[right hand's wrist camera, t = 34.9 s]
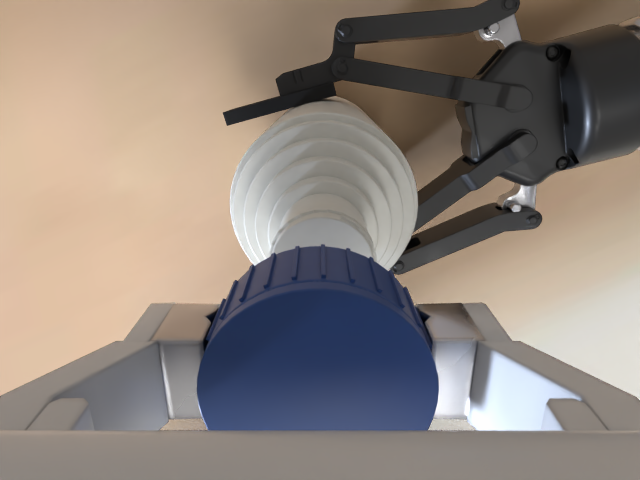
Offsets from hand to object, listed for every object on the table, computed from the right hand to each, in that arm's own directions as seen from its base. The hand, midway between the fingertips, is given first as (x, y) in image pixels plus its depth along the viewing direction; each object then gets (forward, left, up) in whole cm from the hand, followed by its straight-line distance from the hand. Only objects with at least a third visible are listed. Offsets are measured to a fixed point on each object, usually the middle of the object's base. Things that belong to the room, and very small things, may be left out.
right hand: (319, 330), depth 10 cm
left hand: (0, -5, -19) cm, 20 cm away
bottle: (0, 0, -26) cm, 26 cm away
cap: (0, 0, +2) cm, 2 cm away
